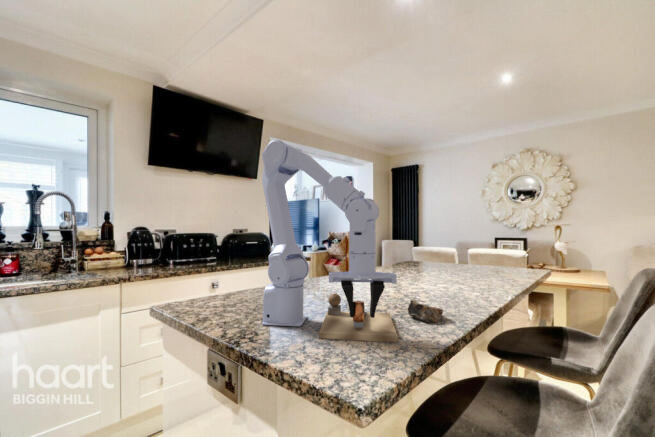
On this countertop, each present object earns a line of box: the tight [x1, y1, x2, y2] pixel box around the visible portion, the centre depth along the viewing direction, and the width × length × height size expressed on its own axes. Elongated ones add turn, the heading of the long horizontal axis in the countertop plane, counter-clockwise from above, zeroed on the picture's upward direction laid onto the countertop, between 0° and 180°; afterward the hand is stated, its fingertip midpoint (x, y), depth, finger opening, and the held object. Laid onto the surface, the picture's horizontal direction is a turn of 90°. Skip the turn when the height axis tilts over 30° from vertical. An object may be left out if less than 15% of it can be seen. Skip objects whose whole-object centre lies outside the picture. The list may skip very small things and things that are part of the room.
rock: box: [407, 299, 444, 324], centre depth 76 cm, size 9×6×10 cm
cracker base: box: [318, 293, 399, 343], centre depth 68 cm, size 16×16×6 cm
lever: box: [353, 300, 366, 328], centre depth 70 cm, size 17×3×5 cm, turn 174°
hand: (361, 316), depth 63 cm, fingers open, 4 cm apart
